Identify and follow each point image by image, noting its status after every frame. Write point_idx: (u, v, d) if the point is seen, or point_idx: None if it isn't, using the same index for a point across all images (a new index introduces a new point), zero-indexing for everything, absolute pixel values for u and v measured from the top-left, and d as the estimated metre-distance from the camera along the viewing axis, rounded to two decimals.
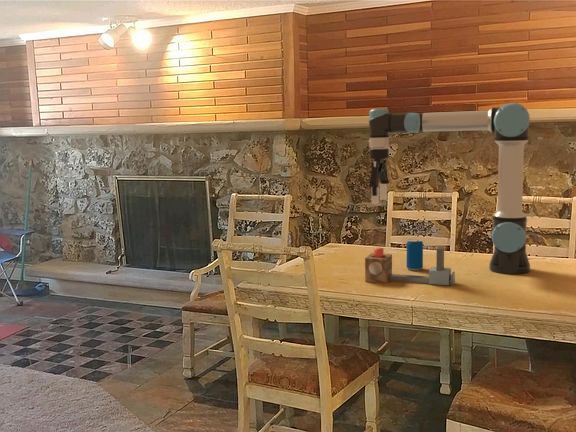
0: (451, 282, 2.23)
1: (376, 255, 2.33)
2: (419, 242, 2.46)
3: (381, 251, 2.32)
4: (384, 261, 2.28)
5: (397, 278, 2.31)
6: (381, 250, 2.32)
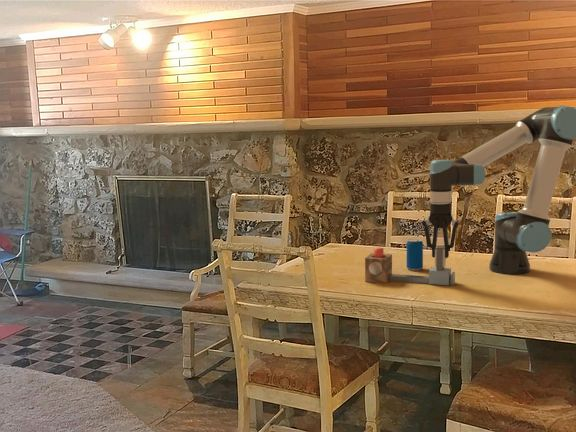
0: (451, 282, 2.23)
1: (376, 255, 2.33)
2: (419, 242, 2.46)
3: (381, 251, 2.32)
4: (384, 261, 2.28)
5: (397, 278, 2.31)
6: (381, 250, 2.32)
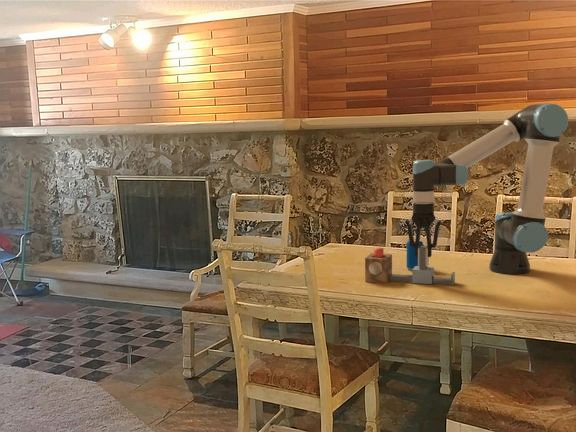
0: (451, 282, 2.23)
1: (376, 255, 2.33)
2: None
3: (381, 251, 2.32)
4: (384, 261, 2.28)
5: (397, 278, 2.31)
6: (381, 250, 2.32)
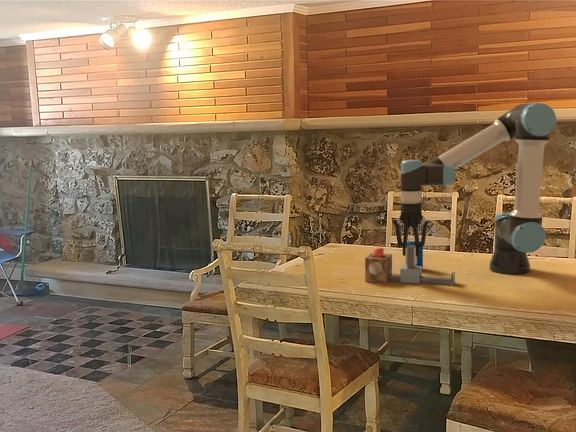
0: (451, 282, 2.23)
1: (376, 255, 2.33)
2: None
3: (381, 251, 2.32)
4: (384, 261, 2.28)
5: (397, 278, 2.31)
6: (381, 250, 2.32)
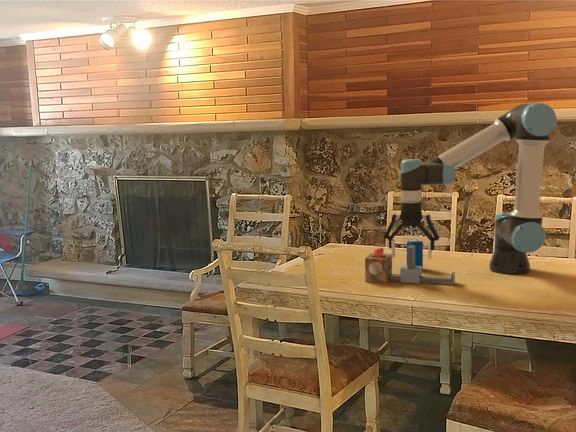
0: (451, 282, 2.23)
1: (376, 255, 2.33)
2: (419, 242, 2.46)
3: (381, 251, 2.32)
4: (384, 261, 2.28)
5: (397, 278, 2.31)
6: (381, 250, 2.32)
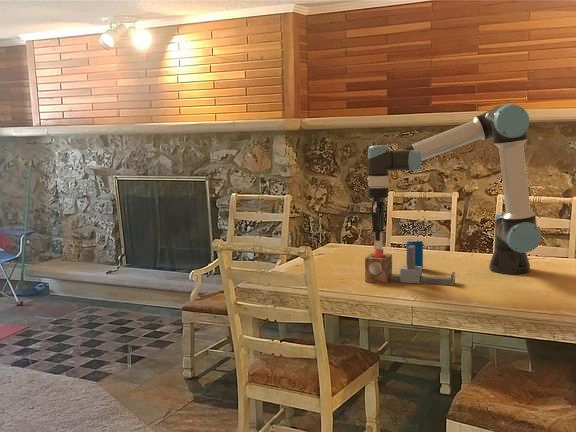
0: (451, 282, 2.23)
1: (376, 256, 2.33)
2: (419, 242, 2.46)
3: (381, 252, 2.32)
4: (384, 261, 2.28)
5: (397, 278, 2.31)
6: (381, 251, 2.32)
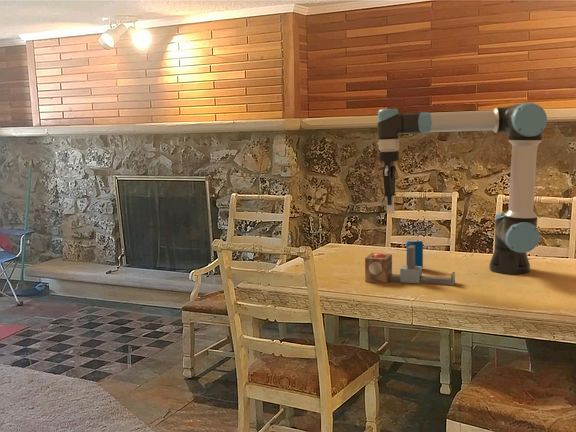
0: (451, 282, 2.23)
1: None
2: (419, 242, 2.46)
3: (381, 257, 2.33)
4: (384, 261, 2.28)
5: (397, 278, 2.31)
6: (381, 256, 2.33)
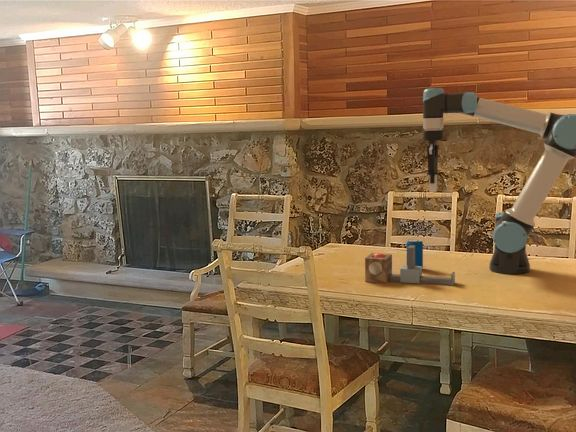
0: (451, 282, 2.23)
1: None
2: (419, 242, 2.46)
3: (381, 257, 2.33)
4: (384, 261, 2.28)
5: (397, 278, 2.31)
6: (381, 256, 2.33)
